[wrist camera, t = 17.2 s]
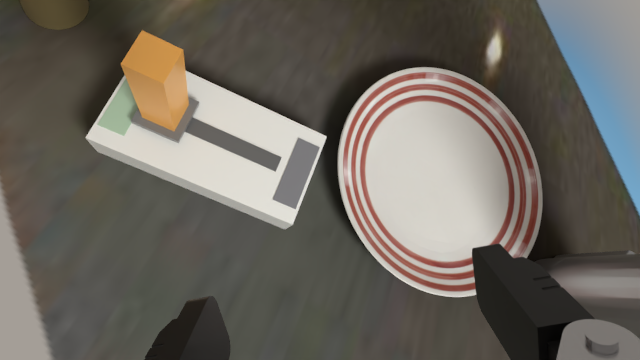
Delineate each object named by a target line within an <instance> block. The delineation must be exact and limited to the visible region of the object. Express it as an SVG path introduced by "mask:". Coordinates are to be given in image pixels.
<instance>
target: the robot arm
mask: <svg viewBox="0 0 640 360" xmlns="http://www.w3.org/2000/svg"><path fill="white" fill-rule="evenodd" d="M472 261H473V270H474V279H475V288H476V295H477V300H478V303H479V306H480V309H481V311H482V313H483V315H484V317H485V318H486V320H487V321H488V323H489V325H490V326H491V328H492V330H493V331H494V333H495V335H496V336H497V338H498V339H499V341H500V343H501V344H502V346H503V348H504V349H505V351H506V352H507V354H508V356H509V357H510V359H511V360H640V254H635V253H633V252H632V251H614V252H598V253H581V254H565V255H556V256H555V257H554V258H547V259H540V260H537V261H535V262H533V261H531V260H529V259H527V258H525V257H517V258H513V257H512V256H511V255H510V254H509V253H508V252H507V251H506V250H505V249H504V247H503V246H502V245H501V244H492V245H487V246H482V247H476V248H473V249H472ZM229 356H230V340H229V336H228V333H227V330H226V327H225V324H224V321H223V318H222V316H221V313H220V310H219V307H218V304H217V302H216V300H215V298H214V297H213V296H209V297H203V298H198V299H193V300H188V301H187V302H186V304H185V306H184V307H183V309H182V311H181V313H180V315H179V316H178V318H177V319H174V320H172V321H171V322H170V323H169V324H168V325H167V326H166V327H165V328H164V329H163V330H162V331H161V332H160V333H159V334H158V336H157V338H156V339H155V341H154V343H153V345H152V348H150V350H149V351H148V353H147V355H146V356H145V360H229Z"/></svg>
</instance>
